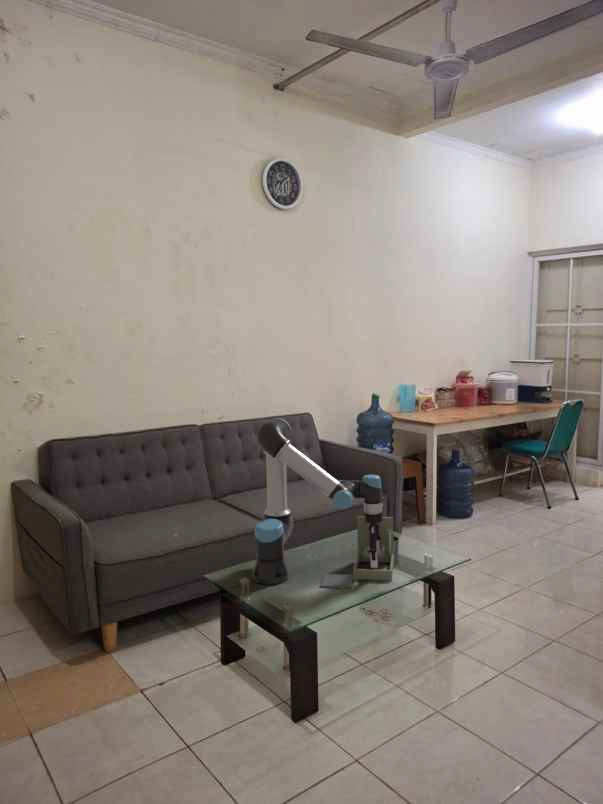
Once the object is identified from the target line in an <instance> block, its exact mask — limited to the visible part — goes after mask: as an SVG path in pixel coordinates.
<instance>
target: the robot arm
mask: <svg viewBox="0 0 603 804" xmlns="http://www.w3.org/2000/svg"><path fill="white" fill-rule="evenodd" d="M291 437H292V426H291V425H290V424H289V422H288V421H287V420H285V419H283V418H279V417H276V418H271V419H269V420H267V421H266V422H263V423H262V424H261V425H260V426H259V427H257V431H256V433H255V439H256V442H257V444H258V446H259V447H260V448H261V450H262V452H263V453H264V454H265V459H266V462H265V464H266V500H267V502H266V504H267V505H266V506H267V508H266V509H265V510H264V511H263V517H264V518H263V520H260V521H259V522H257V523H256V525H255V527H254V539H255V540H254V541H255V542H254V543H255V564H254V567H253V571H252V579H253V578H254V579H255V581H257V582H258V583H257V584H259V583H261V584H260V585H266V586H267V585H268V586H271V585H272V586H273V585H280V584H282V583H284V582H286V581H288V580H289V578H290V572H289V571H290V570H289V567H288V566H287V562H286V561H285V548H284V547H285V546H284V544H285V542H286V541H287V540H288V538H289V537H290V536H291V535H292V533H293V530H294V521H293V518H292V511H291V509H290V508H288V491H287V490H288V488H287V487H288V485H287V484H288V483H287V482H288V481H287V467H289V468H291V470H293V471H294V472H295V473H297V474H298V475H299V476H301V477H302V478H303V479H304V480H306V481H307V482H309V483H310V485H312V486H314V487H315V488H316V489H317V490H319V491H320V492H321V493H322V494H324V495H325V496H326V497H328V498H329V499H331V501H332V502H333V503H332V504H333V505H334V506H335V507H336V509H339V510H346V509H348V508H350V507H351V506H352V505H353V503H354V500H355V499H363V511H364V514H363V515H364V517H365V522H367V523H370V524H371V525H369V535H370V551H369V550H368V552H369V553H370V559H371V562H370V568H372V569H373V568H376V569H377V568H378V562H377V551H376V547H377V549H378V550H380V549H379V541H378V540H381V537H379V525H378V523H380V522H382V520H383V517H384V516H383V507H384V504H383V503H382V502H383V501H382V500H383V497H382V496H383V495H382V494H383V493H382V492H383V491H382V481H381V480H382V479H381V477H380V475H377V474H365V475H364V476H362V479H361V480H358V479H357V480H353V479H349V480H346V479H345V480H344V479H341V480H340V479H339V480H338V479H337V478H335V477H334V476H332V475H331V474H330V473H328V472H327V471H326V470H324V468H322V467H321V466H319V465H318V464H317V463H316V462H314V460H312V459H310V458H309V457H308V456H307V455H305V454H304V453H303V452H302V451H300V450H299V449H297V448H296V447H295V446H293V445H292V444H291V440H290V439H291ZM372 549H375V550H372ZM378 554H380V553H378ZM255 581H254V582H255Z"/></svg>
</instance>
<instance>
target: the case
mask: <svg viewBox="0 0 603 804" xmlns="http://www.w3.org/2000/svg"><path fill="white" fill-rule="evenodd" d="M356 524H357V527H356V531H357V555H356V557H355V558H356V559H355V561H354V565H353V569H352V570H353V571H352V573H353V574H352V575H353V580H373V581H393V576H394V574H393V572H394V565H395V564H394V563H395V555H394V554H395V552H394V551H395V550H394V549H395V545H394V544H395V543H394V540H395V539H394V516H383V520H382V522H380V523H378V525H379V537H381V540H378V541H379V549H380V550H381V551H382V549H383V548H384V549H385V548H386V552H385V551H384V556H383V557H377V563H389V565H390V566H389V569H376V570H374V569H373V568H372V569H371V568H370V569H368V568H359V567H360V563H361V562H362V563H363V562H366V563H367V562H368V563H371V559H370V557H365V556H364V552H363V551H362V547H364V546H370V535H369V525H371V524H370V523H367V522H365V517H364V516H363V515H362V516H361V515H359V516H358V515H357V516H356ZM367 552H368V550H367ZM380 554H383V553H380Z"/></svg>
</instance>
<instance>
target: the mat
mask: <svg viewBox="0 0 603 804" xmlns="http://www.w3.org/2000/svg"><path fill="white" fill-rule="evenodd" d="M353 580H354V579H353V574H342V573H341V574H339V573H338V574H335V573H324V575H323V577H322V580H321V583H320V585H319V587H320V588H329V589H346V588H350V587H352V584H353V582H354V581H353ZM341 587H343V588H341ZM350 589H351V588H350Z"/></svg>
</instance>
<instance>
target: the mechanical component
mask: <svg viewBox="0 0 603 804" xmlns="http://www.w3.org/2000/svg"><path fill="white" fill-rule="evenodd" d="M367 550H369V551H370V546H364V547H362V551H363V552H364V556H365V557H370V553H369V552H367ZM372 550H375V549H372ZM376 551H377V557H383V556H384V551H385V552H386V548H385V549H384V548H383V549H382V551H381V550H378V549H377V547H376ZM378 553H383V554H378ZM372 569H374V570H377V568H372Z"/></svg>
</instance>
